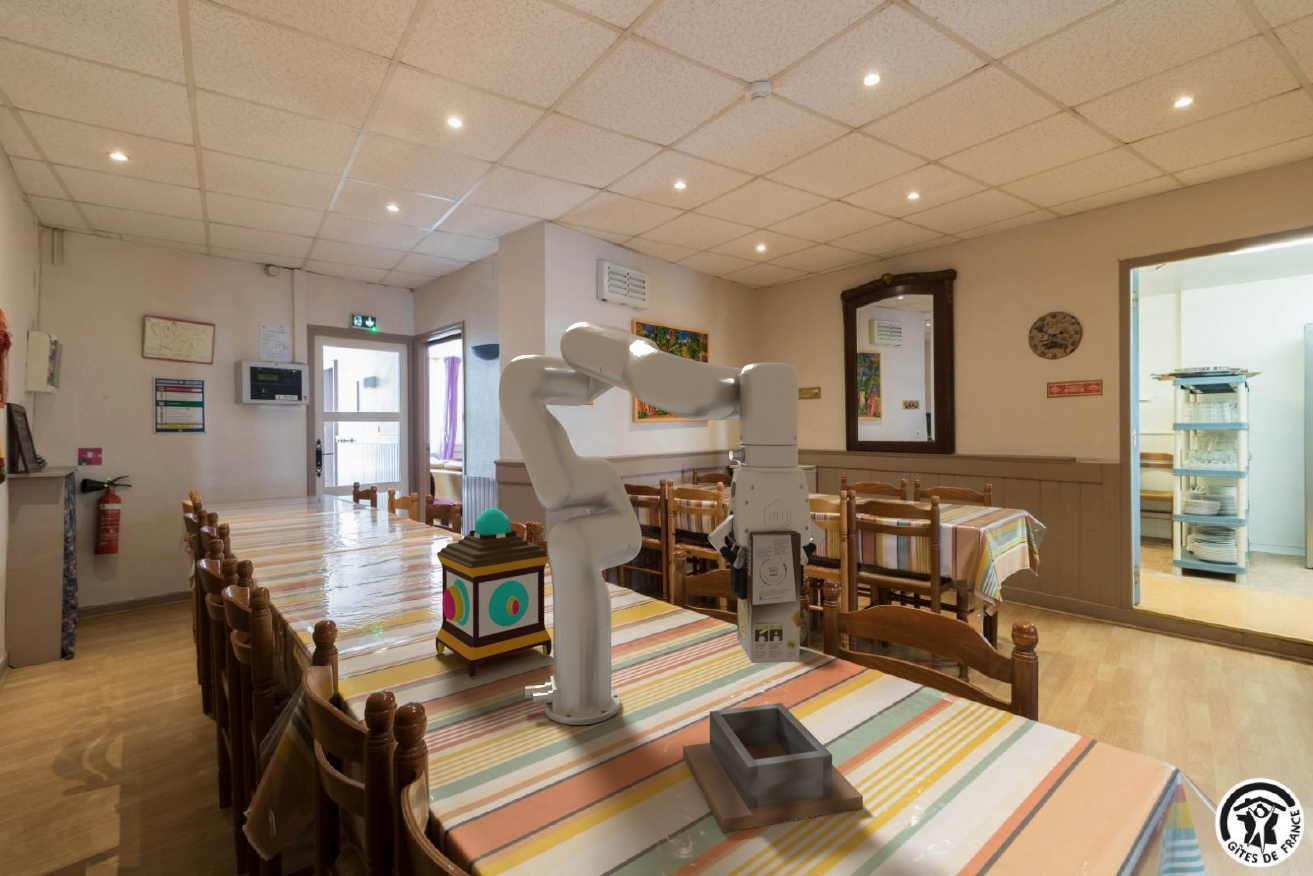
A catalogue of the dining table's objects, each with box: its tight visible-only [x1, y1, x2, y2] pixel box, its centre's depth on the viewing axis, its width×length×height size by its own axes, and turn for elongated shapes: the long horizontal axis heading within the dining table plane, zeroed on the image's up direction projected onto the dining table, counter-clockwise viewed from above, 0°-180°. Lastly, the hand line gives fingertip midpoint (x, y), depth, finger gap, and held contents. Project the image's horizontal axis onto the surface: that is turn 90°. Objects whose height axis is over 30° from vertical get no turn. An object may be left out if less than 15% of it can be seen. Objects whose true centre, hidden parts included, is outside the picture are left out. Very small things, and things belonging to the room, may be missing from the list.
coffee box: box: [736, 531, 801, 664], centre depth 77 cm, size 9×6×16 cm
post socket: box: [682, 702, 864, 833], centre depth 77 cm, size 18×16×6 cm
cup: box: [800, 609, 810, 644], centre depth 123 cm, size 8×7×8 cm
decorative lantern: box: [435, 507, 553, 679], centre depth 120 cm, size 20×20×30 cm
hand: (766, 593), depth 77 cm, fingers closed on coffee box, 7 cm apart
